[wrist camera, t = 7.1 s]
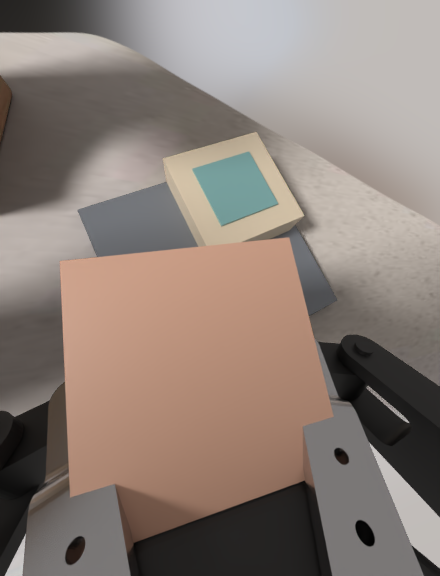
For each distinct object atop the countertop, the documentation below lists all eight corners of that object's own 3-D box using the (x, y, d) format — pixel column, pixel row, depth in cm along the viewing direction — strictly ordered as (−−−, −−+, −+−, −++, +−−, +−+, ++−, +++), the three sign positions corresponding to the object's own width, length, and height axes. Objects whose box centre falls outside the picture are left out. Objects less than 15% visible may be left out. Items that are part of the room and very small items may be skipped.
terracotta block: (233, 368, 14) (346, 465, 4) (159, 385, 13) (73, 564, 3) (221, 297, 15) (289, 237, 5) (150, 308, 14) (60, 261, 4)
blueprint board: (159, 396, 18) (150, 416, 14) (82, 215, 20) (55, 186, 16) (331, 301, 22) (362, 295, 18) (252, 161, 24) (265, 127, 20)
